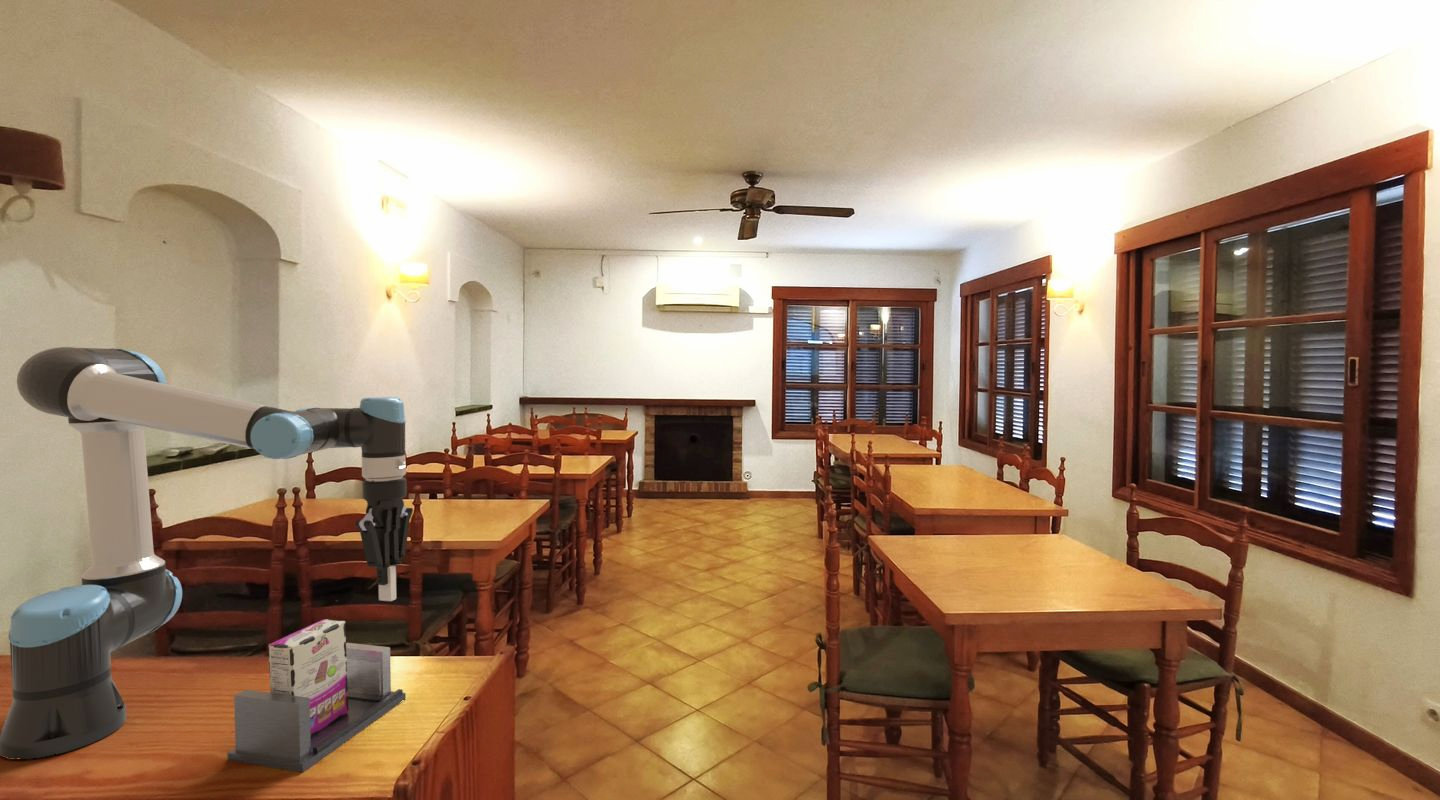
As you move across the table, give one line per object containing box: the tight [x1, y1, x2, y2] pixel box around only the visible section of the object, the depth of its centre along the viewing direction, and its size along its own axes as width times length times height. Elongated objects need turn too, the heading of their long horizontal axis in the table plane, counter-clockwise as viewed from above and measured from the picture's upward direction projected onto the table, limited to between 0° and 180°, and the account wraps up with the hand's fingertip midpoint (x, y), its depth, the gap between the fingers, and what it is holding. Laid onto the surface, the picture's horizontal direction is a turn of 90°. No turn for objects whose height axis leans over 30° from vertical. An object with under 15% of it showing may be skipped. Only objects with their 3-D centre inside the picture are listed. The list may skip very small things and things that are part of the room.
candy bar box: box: [268, 618, 349, 737], centre depth 110 cm, size 11×5×16 cm, turn 167°
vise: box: [226, 688, 406, 773], centre depth 113 cm, size 14×23×10 cm, turn 168°
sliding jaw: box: [346, 642, 392, 701], centre depth 124 cm, size 11×8×9 cm
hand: (387, 599), depth 128 cm, fingers closed
